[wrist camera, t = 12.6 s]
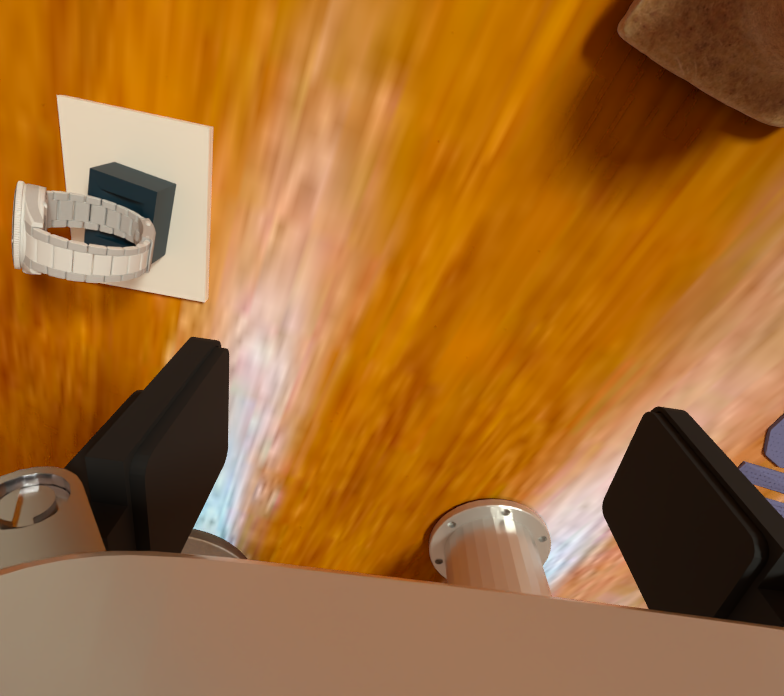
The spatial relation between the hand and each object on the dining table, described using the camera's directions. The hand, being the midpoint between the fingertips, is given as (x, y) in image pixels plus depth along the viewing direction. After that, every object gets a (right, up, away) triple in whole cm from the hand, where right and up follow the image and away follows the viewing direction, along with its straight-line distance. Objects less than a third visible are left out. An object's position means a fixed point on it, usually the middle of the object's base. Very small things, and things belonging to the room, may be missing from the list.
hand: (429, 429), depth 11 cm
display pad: (-19, +12, +26) cm, 34 cm away
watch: (-19, +12, +25) cm, 34 cm away
